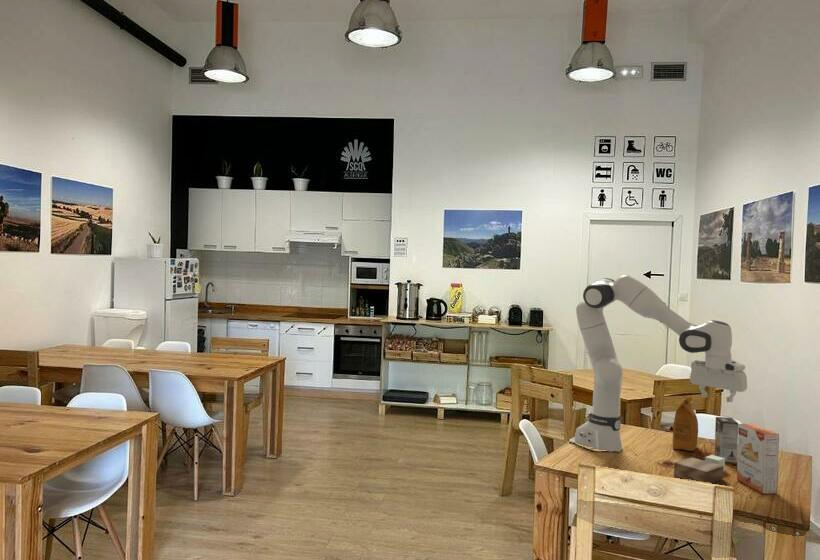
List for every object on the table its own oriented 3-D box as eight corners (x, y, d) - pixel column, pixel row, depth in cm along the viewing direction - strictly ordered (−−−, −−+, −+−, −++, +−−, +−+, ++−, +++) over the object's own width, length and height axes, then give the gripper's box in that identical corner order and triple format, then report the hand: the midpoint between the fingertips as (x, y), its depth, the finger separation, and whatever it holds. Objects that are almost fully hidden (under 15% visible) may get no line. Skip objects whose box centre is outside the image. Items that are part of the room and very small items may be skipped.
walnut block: (673, 476, 221) (674, 462, 220) (690, 470, 228) (691, 457, 228) (706, 485, 211) (706, 471, 211) (722, 479, 218) (723, 465, 218)
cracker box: (735, 480, 218) (737, 422, 218) (751, 480, 218) (753, 423, 218) (761, 494, 204) (763, 433, 204) (778, 494, 204) (780, 433, 204)
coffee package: (701, 447, 259) (702, 396, 259) (694, 453, 249) (696, 401, 249) (676, 443, 265) (678, 393, 265) (669, 449, 256) (670, 397, 255)
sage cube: (704, 469, 229) (705, 456, 229) (711, 467, 232) (711, 454, 232) (717, 473, 225) (718, 460, 225) (724, 471, 228) (724, 458, 228)
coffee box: (713, 454, 249) (715, 416, 249) (730, 456, 248) (731, 417, 247) (720, 461, 240) (721, 421, 240) (737, 463, 239) (739, 422, 238)
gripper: (687, 360, 234) (686, 395, 235) (741, 367, 218) (740, 405, 218) (695, 359, 238) (694, 393, 238) (749, 366, 222) (748, 403, 222)
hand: (716, 399), depth 228 cm, fingers open, 8 cm apart
